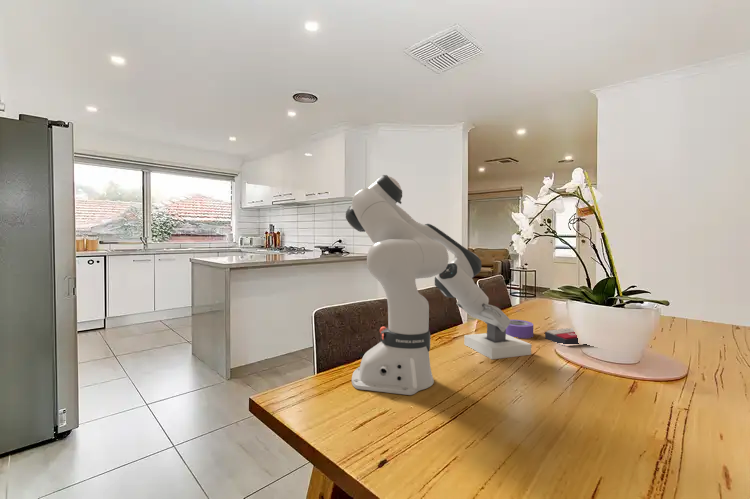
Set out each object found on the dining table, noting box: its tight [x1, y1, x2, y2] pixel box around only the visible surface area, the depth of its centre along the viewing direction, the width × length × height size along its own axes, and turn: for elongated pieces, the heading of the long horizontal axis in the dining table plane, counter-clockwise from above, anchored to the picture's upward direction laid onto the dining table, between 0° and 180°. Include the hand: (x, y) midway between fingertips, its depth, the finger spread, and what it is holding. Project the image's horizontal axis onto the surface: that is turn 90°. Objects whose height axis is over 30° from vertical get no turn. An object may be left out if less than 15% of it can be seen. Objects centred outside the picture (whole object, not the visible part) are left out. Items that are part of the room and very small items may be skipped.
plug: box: [486, 323, 506, 342], centre depth 123 cm, size 4×4×8 cm
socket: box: [463, 332, 532, 360], centre depth 123 cm, size 16×16×4 cm
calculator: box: [544, 327, 579, 344], centre depth 134 cm, size 11×4×15 cm
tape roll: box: [506, 319, 534, 339], centre depth 143 cm, size 12×12×5 cm
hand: (497, 327), depth 123 cm, fingers closed on plug, 4 cm apart
